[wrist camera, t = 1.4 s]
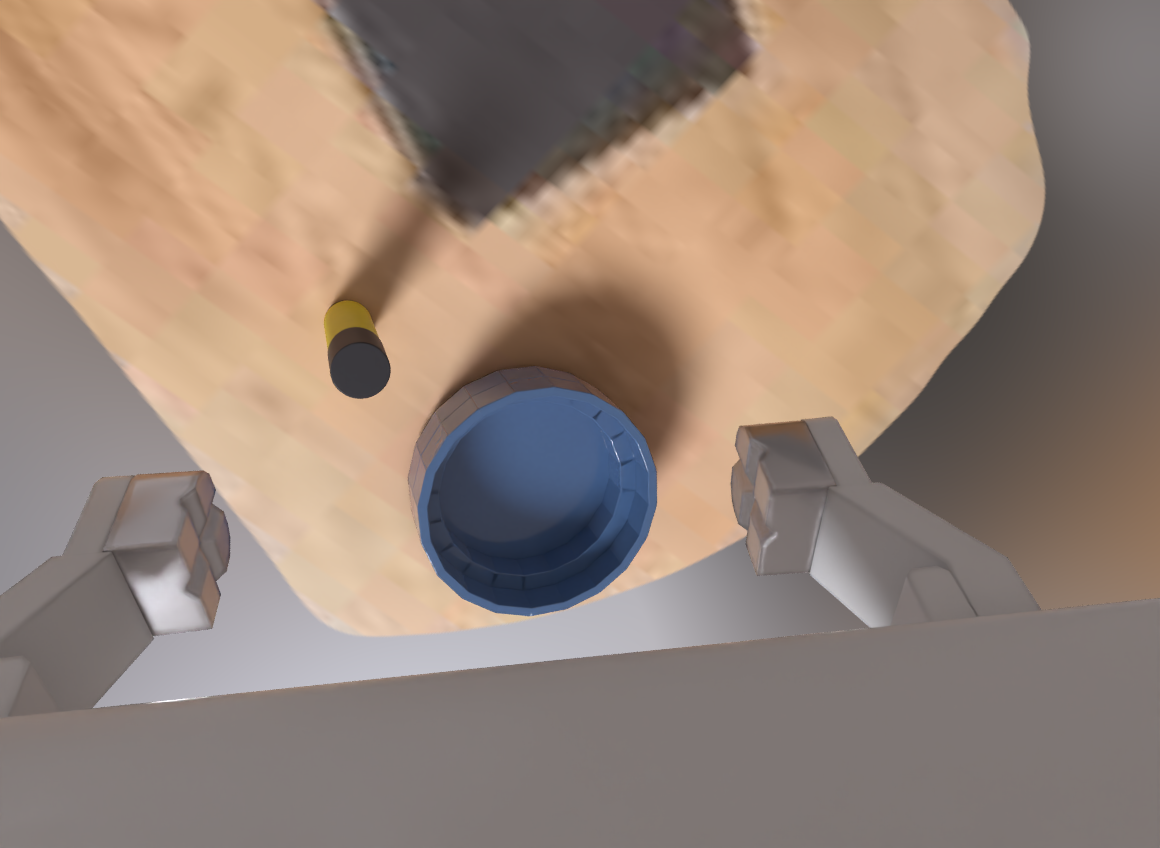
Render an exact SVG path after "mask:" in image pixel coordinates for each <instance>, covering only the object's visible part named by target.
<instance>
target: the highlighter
mask: <svg viewBox="0 0 1160 848" xmlns="http://www.w3.org/2000/svg"><path fill="white" fill-rule="evenodd" d="M324 328H325V334H326V341H327V347H328V360H329V367H330V374H331V378H332V381H333V383H334V385H335V386H336V388H337V389H338V390H339V391H340V392H342V393H343V394H345V395H347V396H349V397H352V398H357V399H363V398H369V397H372V396H374V395H376V394H377V393H379V392H380V391H381V390H382V389H383V388H384V387H385V386H386V384H387V382H388V380H389V377H390V363H389V360H388V357H387V355H386V352H385V350H384V347H383V345H382V342H381V341H380V339H379V337H378V334H377V332H376V329H375V326H374V324H373V321H372V319H371V316H370V314H369V312H368V311H367V309H366V308H365V307H364V306H363V305H361V304H359V303H357V302H354V301H341V302H338V303H336V304H334V305H333V306H332V307H331V308H330V309H329V310H328V311H327V313H326V315H325V318H324Z"/></svg>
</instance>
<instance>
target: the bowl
mask: <svg viewBox="0 0 1160 848" xmlns="http://www.w3.org/2000/svg"><path fill="white" fill-rule="evenodd" d="M408 484H409V493H410V502H411V511H412V514H413V518H414V521H415V524H416V528H417V531H418V535H419V538H420V541H421V544H422V546H423V548H424V550H425V552H426V554H427V556H428V558H429V560H430V562H431V564H432V566H433V568H434V570H435V572H436V574H437V576H438V577H439V578H440V579H442V580H443V581H444V582H445V583H446V584H447V585H448V586H449V587H450V588H451V589H452V590H453V591H455V592H456V593H457V594H458V595H459V596H460V597H461V598H462V599H464V600H467V601H469V602H471V603H474V604H476V605H478V606H481V607H483V608H485V609H487V610H490V611H492V612H495V613H502V614H513V615H523V616H534V615H539V614H544V613H549V612H554V611H560V610H565V609H568V608H570V607H572V606H574V605H576V604H578V603H580V602H582V601H584V600H586V599H588V598H590V597H592V596H594V595H596V594H598V593H599V592H601V591H602V590H603V589H605V588H606V587H607V586H608V585H609V584H610V583H611V582H612V581H614V580H615V579H616V578H617V577H618V576H619V575H620V574H621V573H623V572H624V571H625V570H626V569H627V568H628V566H629V565H630V563H631V562H632V560H633V559H634V557H635V555H636V554H637V552H638V551H639V549H640V548H641V546H642V545H643V543H644V542H645V540H646V538H647V536H648V533H649V529H650V526H651V523H652V519H653V516H654V513H655V509H656V506H657V471H656V467H655V464H654V461H653V459H652V456H651V453H650V450H649V448H648V445H647V442H646V439H645V437H644V436H643V435H642V434H641V432H640V431H639V430H638V429H637V428H636V426H635V425H634V424H633V423H632V422H631V420H630V419H629V418H628V417H627V416H626V414H625V413H624V412H623V411H622V410H621V409H620V408H618V407H617V406H616V405H615V404H614V403H613V402H612V401H611V400H610V399H609V398H607V397H606V396H605V395H604V394H603V393H602V392H601V391H600V390H598V389H597V388H595V387H593V386H592V385H590V384H588V383H587V382H585V381H583V380H581V379H580V378H578V377H576V376H575V375H573V374H571V373H568V372H563V371H558V370H553V369H548V368H543V367H538V366H531V367H522V368H514V369H506V370H499V371H496V372H494V373H492V374H489V375H487V376H485V377H483V378H480V379H478V380H476V381H474V382H472V383H469V384H467V385H465V386H463V387H462V388H461V389H460V390H459V391H458V392H456V393H455V394H454V395H453V396H452V397H451V398H450V399H448V400H447V401H446V402H445V403H444V404H443V405H442V406H440V407H439V408H438V409H437V410H436V412H434V414H433V416H432V417H431V419H430V421H429V422H428V424H427V426H426V427H425V429H424V431H423V432H422V434H421V435H420V437H419V439H418V440H417V442H416V444H415V449H414V453H413V457H412V462H411V466H410V470H409V475H408Z"/></svg>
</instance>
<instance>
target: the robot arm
mask: <svg viewBox="0 0 1160 848" xmlns="http://www.w3.org/2000/svg"><path fill="white" fill-rule="evenodd" d="M735 447H736V450H737V452H738V455H739V458H740V459H739V461H738V462H737V463H736V464H735V465H734V466H733V467H732V476H731V494H732V503H733V508H734V512H735V515H736V518H737V521H738V524H739V525H740V526H742V527H743V528H745V529H746V530H747V531H748V532H747V539H746V547H747V550H748V552H749V555H750V558H751V560H752V563H753V566H754V569H755V572H756V574H757V576H762V575H777V574H790V573H805V572H810V575H811V576H812V577H813V578H814V579H815V580H817V581H818V582H819V583H820V584H821V585H822V586H823V587H824V588H825V589H827V590H828V591H829V592H830V593H831V594H832V595H833V596H835V597H836V598H837V599H838V600H839V601H840V602H841V603H843V604H844V605H845V606H846V607H847V608H848V609H849V610H851V611H852V612H853V613H854V614H855V615H856V616H858V617H859V618H860V619H861V620H862V621H863V622H864V623H865V624H867V625H868V626H869V627H870V628H864V629H854V630H845V631H835V632H825V633H816V634H806V635H797V636H787V637H778V638H769V639H760V640H750V641H741V642H731V643H722V644H712V645H702V646H692V647H682V648H673V649H662V650H653V651H643V652H633V653H624V654H613V655H603V656H593V657H583V658H574V659H564V660H554V661H544V662H535V663H526V664H516V665H506V666H496V667H487V668H477V669H468V670H458V671H448V672H439V673H429V674H420V675H411V676H401V677H392V678H382V679H372V680H363V681H352V682H343V683H334V684H324V685H315V686H304V687H294V688H285V689H276V690H267V691H266V690H265V691H256V692H246V693H236V694H227V695H218V696H207V697H198V698H189V699H178V700H169V701H160V702H149V703H140V704H130V705H120V706H111V707H101V708H93V707H94V705H95V704H96V703H97V702H98V701H99V700H100V699H101V697H103V695H104V694H105V693H106V692H107V691H108V690H109V689H110V688H111V687H112V685H113V684H114V683H115V682H116V681H117V680H118V679H119V677H120V676H121V675H122V674H123V673H124V672H125V671H126V670H127V669H128V667H129V666H130V665H131V664H132V663H133V662H134V661H135V660H136V659H137V657H138V656H139V655H140V654H141V653H142V652H143V651H144V650H145V649H146V647H147V646H148V645H149V644H150V643H151V642H152V641H153V639H154V638H153V636H159V635H167V634H175V633H183V632H191V631H200V630H208V629H212V627H213V623H214V619H215V615H216V612H217V608H218V603H219V600H220V596H221V593H220V591H219V588H218V585H217V583H216V581H217V580H218V579H219V578H220V577H221V576H222V575H223V574H224V573H225V572H226V571H227V567H228V563H229V558H230V533H229V528H228V523H227V520H226V517H225V514H224V512H223V511H222V510H221V509H219V508H218V507H216V506H215V505H213V504H212V502H213V498H214V495H215V491H216V489H215V487H214V484H213V482H212V479H211V477H210V474H209V473H207V472H205V471H188V472H172V473H155V474H140V475H136V476H133V475H131V476H116V477H102V478H101V479H100V480H98V481H97V482H96V483H95V484H94V486H93V488H92V490H91V492H90V495H89V497H88V499H87V501H86V504H85V506H84V508H83V510H82V513H81V515H80V517H79V519H78V521H77V524H76V526H75V528H74V530H73V532H72V535H71V537H70V539H69V542H68V544H67V546H66V548H65V550H64V553H63V555H62V556H56V557H51V558H50V559H48V560H47V561H46V562H44V563H43V564H42V565H40V566H39V567H38V568H37V569H35V570H34V571H32V572H31V573H30V574H28V575H27V576H26V577H24V578H23V579H22V580H21V581H19V582H18V583H16V584H15V585H14V586H12V587H11V588H10V589H9V590H7V591H6V592H4V593H3V594H2V595H0V848H1160V598H1155V599H1145V600H1135V601H1125V602H1116V603H1107V604H1097V605H1087V606H1077V607H1067V608H1058V609H1048V610H1041V608H1040V607H1039V605H1038V604H1037V602H1036V601H1035V599H1034V598H1033V596H1032V594H1031V593H1030V591H1029V590H1028V588H1027V587H1026V585H1025V584H1024V582H1023V581H1022V579H1021V577H1020V576H1019V574H1018V573H1017V571H1016V570H1015V568H1014V567H1013V565H1012V564H1011V562H1010V561H1009V559H1008V557H1006V556H1004V555H1003V554H1001V553H999V552H997V551H996V550H994V549H992V548H991V547H989V546H987V545H986V544H984V543H982V542H981V541H979V540H977V539H975V538H974V537H972V536H970V535H969V534H967V533H965V532H964V531H962V530H960V529H959V528H957V527H955V526H953V525H952V524H950V523H948V522H947V521H945V520H943V519H942V518H940V517H938V516H937V515H935V514H933V513H931V512H930V511H928V510H926V509H925V508H923V507H921V506H920V505H918V504H916V503H915V502H913V501H911V500H909V499H908V498H906V497H904V496H903V495H901V494H899V493H898V492H896V491H894V490H893V489H891V488H889V487H887V486H886V485H884V484H882V483H881V482H880V483H872V482H871V481H870V479H869V477H868V475H867V473H866V472H865V470H864V468H863V466H862V464H861V463H860V461H859V459H858V457H857V455H856V453H855V451H854V450H853V448H852V446H851V444H850V442H849V441H848V439H847V437H846V435H845V433H844V431H843V430H842V428H841V426H840V424H839V422H838V421H837V419H835V418H834V417H832V416H831V417H822V418H812V419H803V420H801V421H789V422H778V423H766V424H755V425H744V426H739V429H738V431H737V435H736V442H735Z"/></svg>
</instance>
